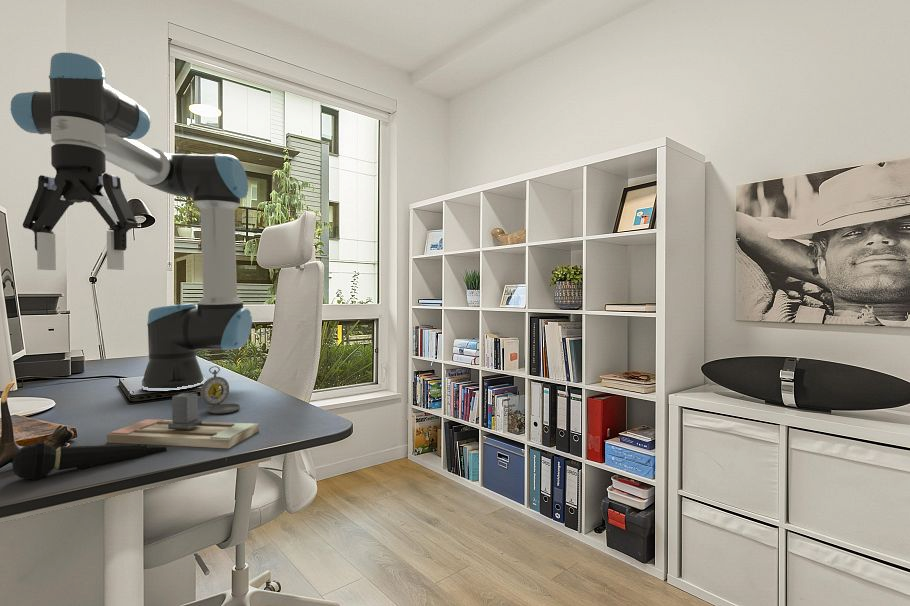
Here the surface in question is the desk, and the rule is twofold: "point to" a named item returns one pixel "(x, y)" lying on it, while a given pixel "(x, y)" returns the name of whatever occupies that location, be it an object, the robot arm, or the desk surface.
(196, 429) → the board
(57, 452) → the microphone
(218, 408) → the pocket watch
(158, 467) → the desk surface
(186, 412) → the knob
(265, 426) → the desk surface
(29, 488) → the desk surface
